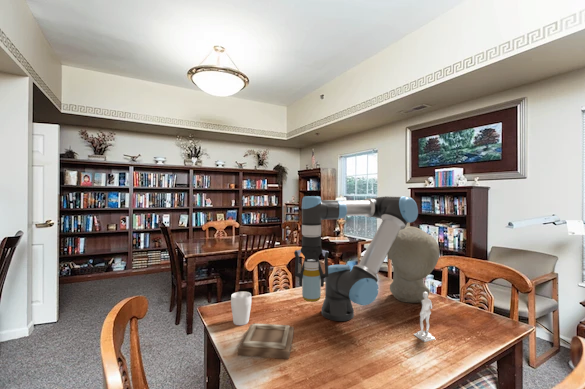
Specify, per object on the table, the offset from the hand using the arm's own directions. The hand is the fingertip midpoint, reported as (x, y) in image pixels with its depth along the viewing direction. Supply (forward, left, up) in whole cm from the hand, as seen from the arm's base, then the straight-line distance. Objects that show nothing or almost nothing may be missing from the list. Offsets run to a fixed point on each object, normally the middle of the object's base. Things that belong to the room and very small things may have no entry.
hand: (311, 294), depth 109 cm
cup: (+31, -11, -18) cm, 37 cm away
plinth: (+16, +5, -17) cm, 24 cm away
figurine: (-46, -7, -18) cm, 49 cm away
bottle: (0, 0, -2) cm, 2 cm away
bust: (-52, -42, -18) cm, 69 cm away
